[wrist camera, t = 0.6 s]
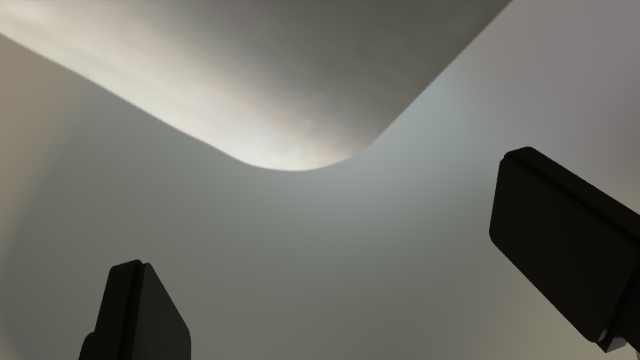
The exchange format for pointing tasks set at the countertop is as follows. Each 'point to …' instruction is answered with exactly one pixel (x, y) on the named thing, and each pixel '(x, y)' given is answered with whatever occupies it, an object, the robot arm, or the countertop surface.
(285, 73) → the countertop surface
